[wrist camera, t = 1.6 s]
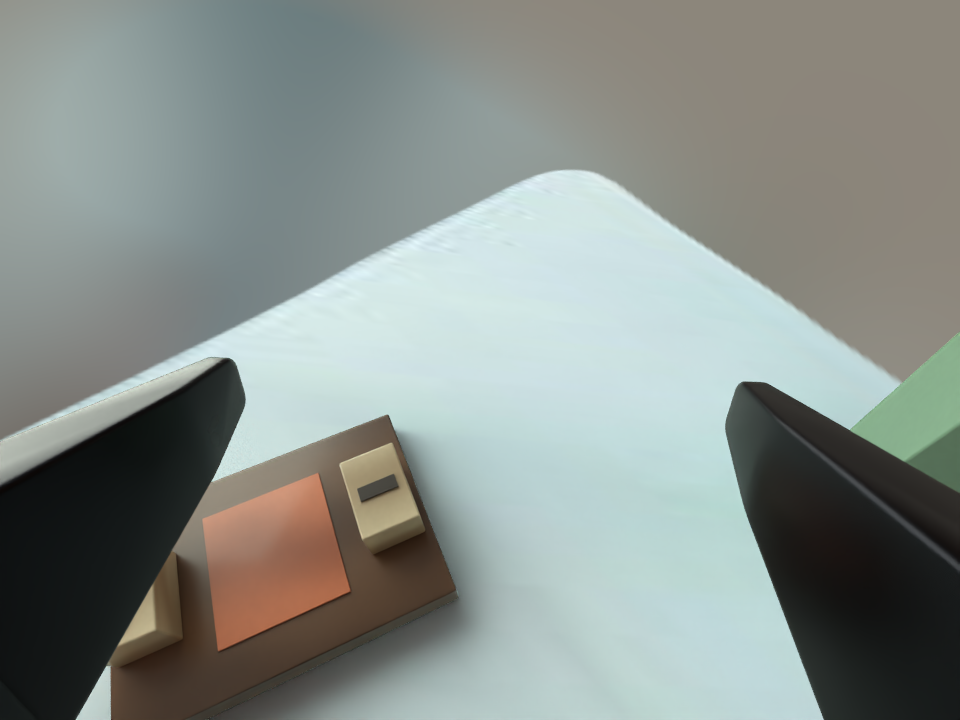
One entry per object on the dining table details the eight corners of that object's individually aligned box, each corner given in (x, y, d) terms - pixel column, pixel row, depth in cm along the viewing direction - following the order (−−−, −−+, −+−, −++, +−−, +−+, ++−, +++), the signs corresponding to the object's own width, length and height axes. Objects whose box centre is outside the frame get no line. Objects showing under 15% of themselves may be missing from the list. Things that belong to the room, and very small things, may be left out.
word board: (459, 598, 22) (452, 576, 19) (135, 754, 19) (69, 756, 16) (393, 428, 27) (379, 390, 24) (128, 532, 24) (76, 503, 21)
